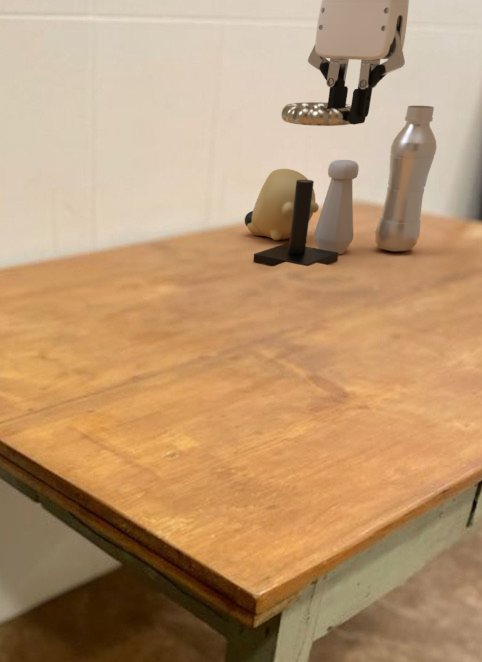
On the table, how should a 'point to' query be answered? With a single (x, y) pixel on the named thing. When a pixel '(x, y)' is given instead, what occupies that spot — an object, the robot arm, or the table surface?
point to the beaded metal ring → (315, 114)
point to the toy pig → (276, 205)
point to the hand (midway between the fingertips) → (346, 121)
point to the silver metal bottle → (407, 181)
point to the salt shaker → (337, 208)
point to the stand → (297, 236)
